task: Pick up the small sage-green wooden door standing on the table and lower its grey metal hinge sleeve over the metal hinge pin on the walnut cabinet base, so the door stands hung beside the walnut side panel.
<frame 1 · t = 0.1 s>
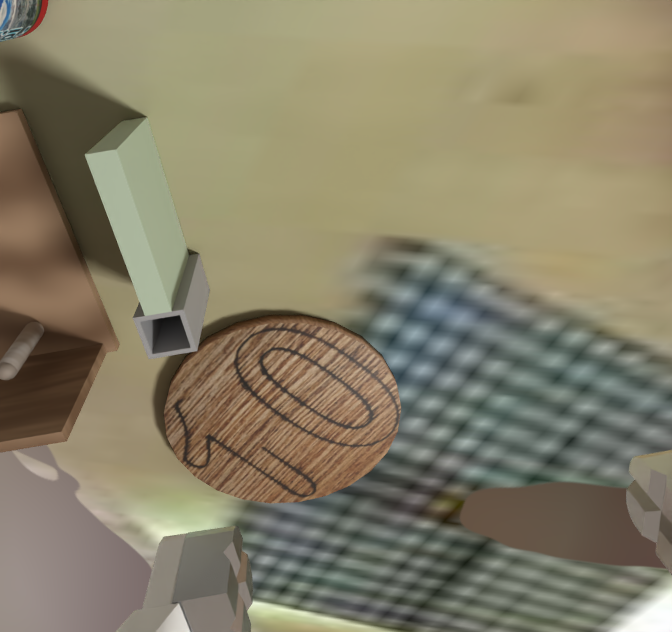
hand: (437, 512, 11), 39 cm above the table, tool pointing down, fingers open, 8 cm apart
door: (157, 192, 46), on the table
cabinet base: (7, 252, 47), on the table
trivet: (284, 409, 60), on the table
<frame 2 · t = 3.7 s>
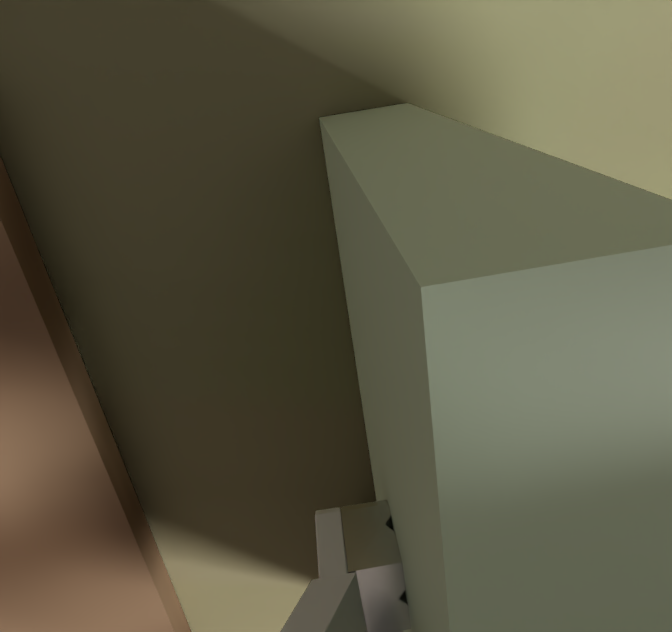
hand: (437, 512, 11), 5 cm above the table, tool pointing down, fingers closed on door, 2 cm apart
door: (390, 344, 15), on the table, touching gripper
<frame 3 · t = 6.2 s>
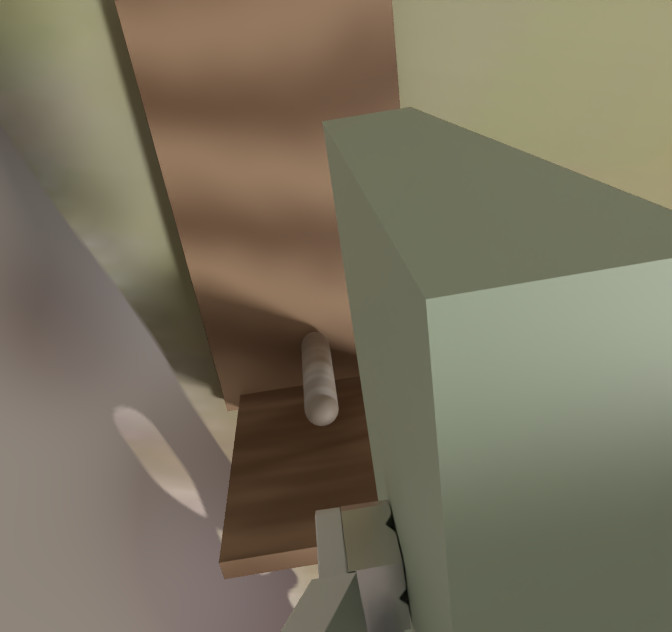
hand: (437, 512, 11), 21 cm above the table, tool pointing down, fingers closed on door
door: (392, 347, 15), point 16 cm above the table, touching gripper
cabinet base: (294, 218, 30), on the table
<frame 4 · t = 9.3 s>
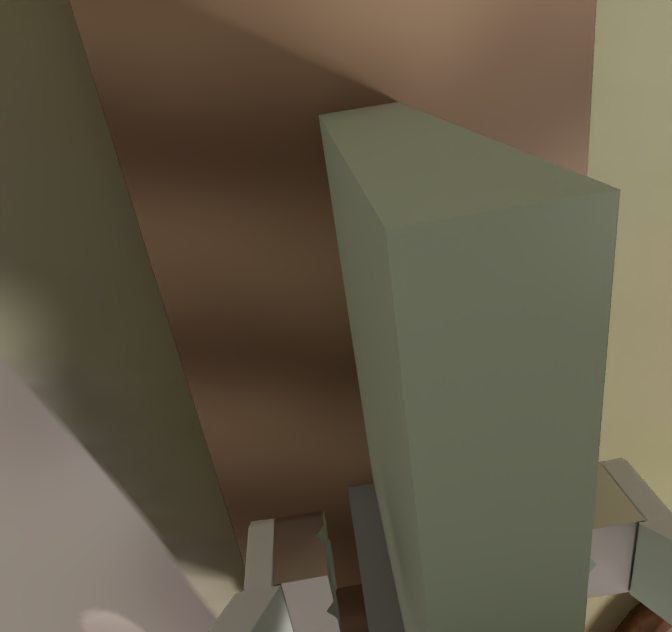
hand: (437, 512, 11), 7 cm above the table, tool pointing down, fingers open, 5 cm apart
door: (383, 322, 16), point 1 cm above the table, touching cabinet base
cabinet base: (379, 332, 17), on the table
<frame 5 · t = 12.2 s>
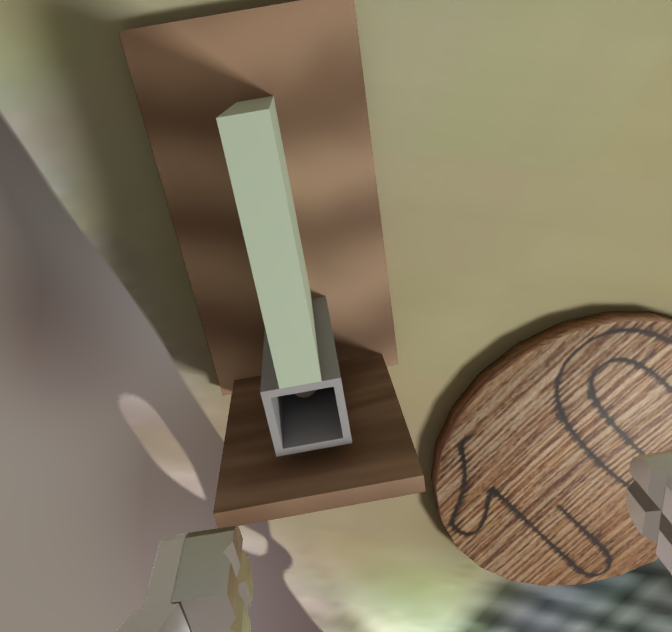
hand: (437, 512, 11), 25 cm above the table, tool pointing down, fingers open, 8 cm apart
door: (277, 208, 32), point 1 cm above the table, touching cabinet base
cabinet base: (278, 217, 33), on the table
trivet: (584, 451, 44), on the table
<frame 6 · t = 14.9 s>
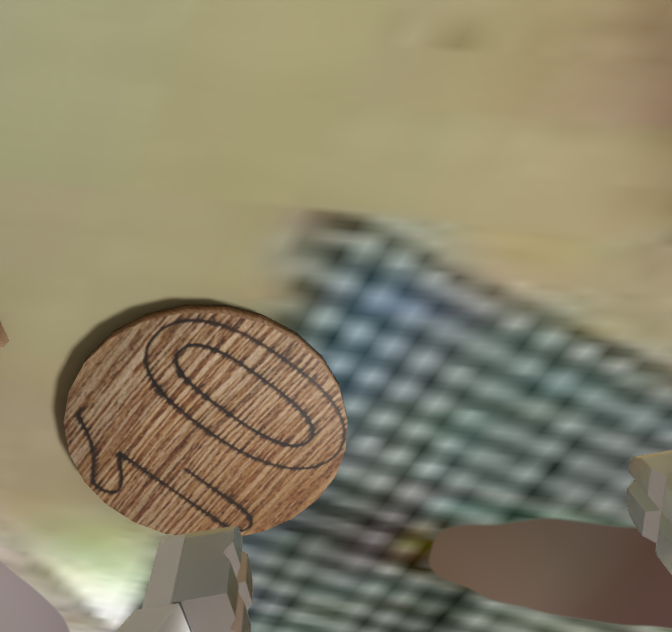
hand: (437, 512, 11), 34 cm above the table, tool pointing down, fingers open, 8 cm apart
trivet: (212, 423, 51), on the table
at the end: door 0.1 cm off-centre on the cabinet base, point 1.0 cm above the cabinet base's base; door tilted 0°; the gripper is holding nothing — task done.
